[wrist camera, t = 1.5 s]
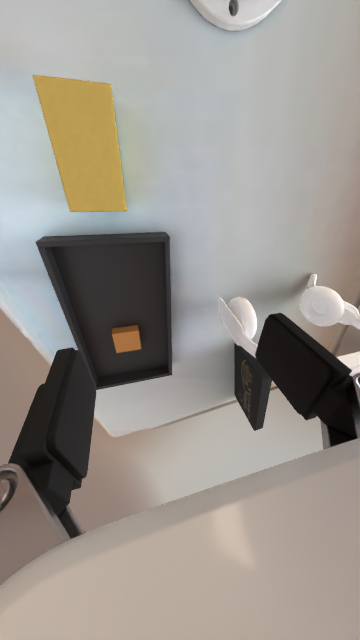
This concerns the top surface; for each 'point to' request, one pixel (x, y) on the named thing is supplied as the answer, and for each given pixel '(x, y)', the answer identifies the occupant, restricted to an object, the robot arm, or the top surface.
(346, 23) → the top surface
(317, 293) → the headset
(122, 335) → the orange square block
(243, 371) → the nameplate
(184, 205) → the top surface
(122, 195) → the sponge
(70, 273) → the black shallow rectangular tray
